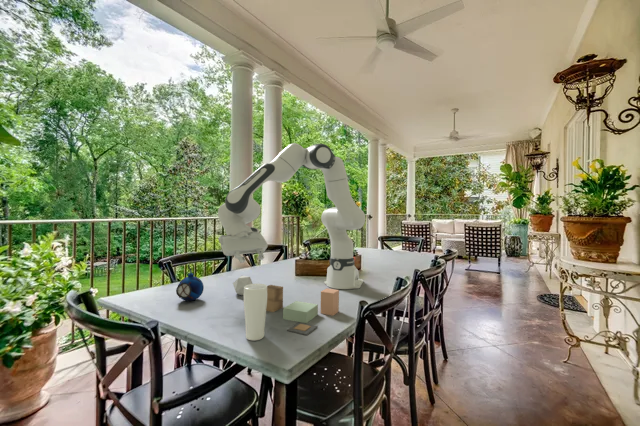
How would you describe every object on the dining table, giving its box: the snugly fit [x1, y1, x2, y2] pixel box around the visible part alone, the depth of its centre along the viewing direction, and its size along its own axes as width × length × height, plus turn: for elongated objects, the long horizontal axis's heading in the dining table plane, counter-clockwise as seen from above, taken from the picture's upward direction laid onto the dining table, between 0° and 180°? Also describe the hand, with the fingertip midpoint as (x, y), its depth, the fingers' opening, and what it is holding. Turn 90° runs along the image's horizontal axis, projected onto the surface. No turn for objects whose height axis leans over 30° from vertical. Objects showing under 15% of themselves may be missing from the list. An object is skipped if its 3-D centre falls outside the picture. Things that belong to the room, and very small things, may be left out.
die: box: [232, 275, 254, 297], centre depth 130 cm, size 8×9×10 cm
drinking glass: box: [243, 283, 268, 342], centre depth 86 cm, size 7×7×15 cm
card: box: [286, 322, 318, 336], centre depth 93 cm, size 7×7×1 cm
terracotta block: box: [320, 287, 340, 316], centre depth 108 cm, size 5×5×8 cm
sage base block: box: [282, 300, 319, 324], centre depth 103 cm, size 9×9×4 cm
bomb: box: [175, 264, 204, 302], centre depth 119 cm, size 10×11×15 cm
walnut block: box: [266, 284, 284, 313], centre depth 112 cm, size 6×6×8 cm
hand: (253, 260), depth 119 cm, fingers open, 8 cm apart
